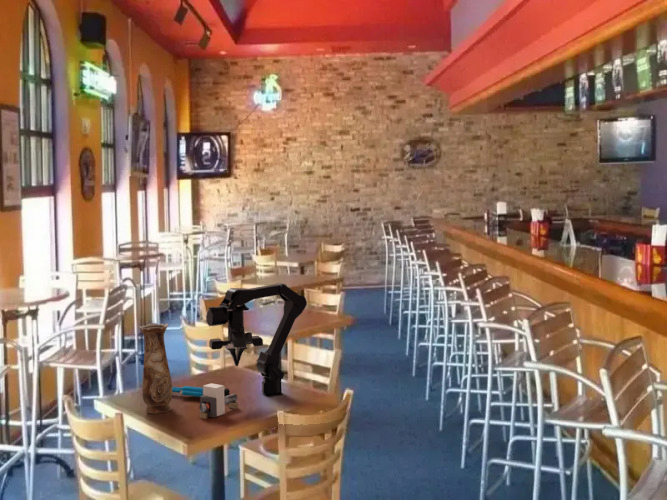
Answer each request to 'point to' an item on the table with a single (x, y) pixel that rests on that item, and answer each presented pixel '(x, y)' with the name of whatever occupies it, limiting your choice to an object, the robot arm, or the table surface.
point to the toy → (194, 391)
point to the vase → (156, 370)
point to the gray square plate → (212, 405)
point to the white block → (215, 396)
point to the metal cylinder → (227, 400)
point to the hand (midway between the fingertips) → (236, 365)
